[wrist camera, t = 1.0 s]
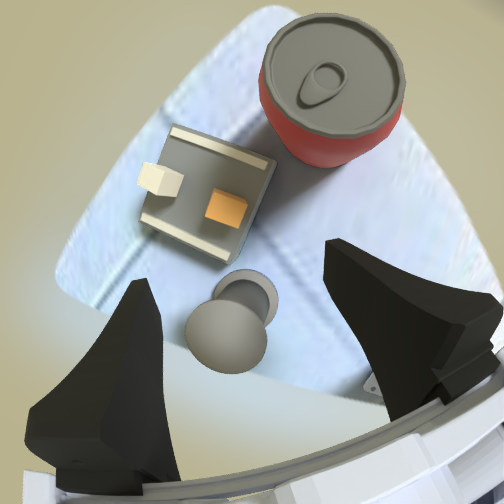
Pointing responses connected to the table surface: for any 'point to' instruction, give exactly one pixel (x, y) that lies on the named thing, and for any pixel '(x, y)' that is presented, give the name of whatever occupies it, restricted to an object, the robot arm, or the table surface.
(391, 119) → the beer can
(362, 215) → the table surface
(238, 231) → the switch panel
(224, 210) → the orange cube
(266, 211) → the table surface
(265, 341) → the cord spool
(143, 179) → the cream cube
